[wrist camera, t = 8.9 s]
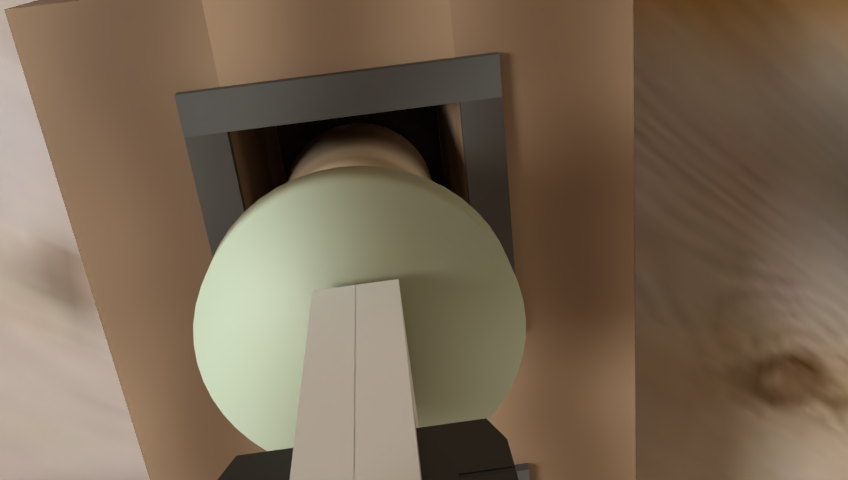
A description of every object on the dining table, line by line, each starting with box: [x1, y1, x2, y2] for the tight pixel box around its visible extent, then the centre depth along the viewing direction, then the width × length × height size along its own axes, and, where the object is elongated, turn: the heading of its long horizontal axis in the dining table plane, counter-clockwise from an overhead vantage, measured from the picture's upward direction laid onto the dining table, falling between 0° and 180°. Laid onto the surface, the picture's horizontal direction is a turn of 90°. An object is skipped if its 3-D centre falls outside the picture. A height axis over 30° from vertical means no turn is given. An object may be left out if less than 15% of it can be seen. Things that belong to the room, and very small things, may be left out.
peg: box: [193, 123, 526, 451], centre depth 18 cm, size 6×6×8 cm
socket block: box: [5, 0, 636, 480], centre depth 26 cm, size 14×24×8 cm, turn 6°
